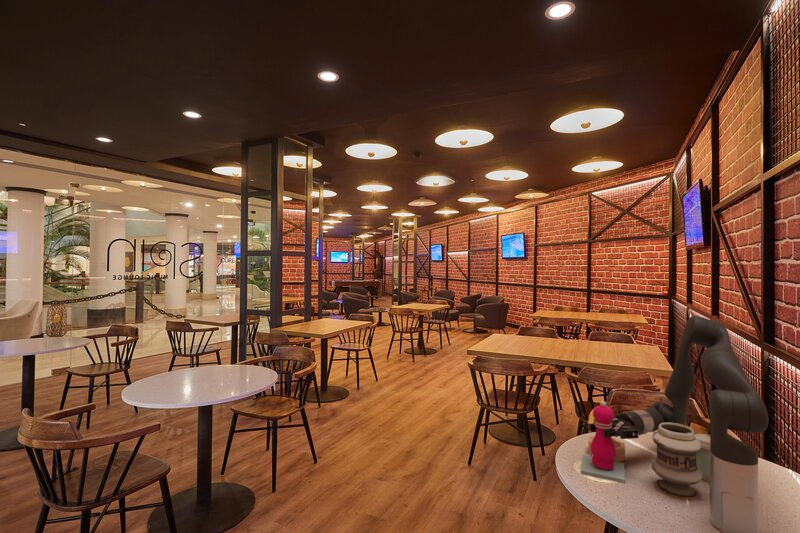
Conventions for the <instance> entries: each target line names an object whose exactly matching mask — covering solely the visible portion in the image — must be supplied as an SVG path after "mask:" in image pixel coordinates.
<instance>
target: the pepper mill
mask: <svg viewBox="0 0 800 533" xmlns="http://www.w3.org/2000/svg"><path fill="white" fill-rule="evenodd" d="M614 414H615V413H614V411H613V410H612V409H611V407H609V406H607V403H606V401H604V400H602V401H600V403H599V405H597V406H595V407H594V408H593V409H592V417H593V419H596V420H595V421H594V420H593V423H594V422H595V424H594V425H595V426H596V431H595V434H594V436H595V437H594V439H593V441H592V443H591V452H592V454H593V455H594V456H591V457H592V463H593V464H594V465H595V466H597V467H599V468H603V469H612V468H614V460H613V458H614V457H615V456H616V449H615V446H614V444H613V441H612V438H613V437H608V438H605V437H603V431H604V430H606V429H611V428H612V423H611V421H612V420H613V419H614V418H615V415H614Z"/></svg>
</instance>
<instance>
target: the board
mask: <svg viewBox="0 0 800 533" xmlns="http://www.w3.org/2000/svg"><path fill="white" fill-rule="evenodd" d="M592 457H593V456H592V455H590V456H589V455H586V454H585V455H584V454H582V461H581V467H580V474H581V475H585V476H590V477H594V478H598V479H603V480H608V481H613V482H617V483H620V484H621V483H622V484H626V474H625V464H624V462H622V461H619V462H616V461H614V468H612V469H603V468H599V467H597V466H595V465H594V464H593V463H592Z"/></svg>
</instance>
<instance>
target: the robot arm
mask: <svg viewBox="0 0 800 533" xmlns="http://www.w3.org/2000/svg"><path fill="white" fill-rule="evenodd" d="M681 333H682V334H681V337H680V340H679V345H678V347H677V351H676V356H675V362H674V365H673V369H672V371H671V372H672V373H671V375H670V376H669V380H668V382H667V385H666V387H665V390H664V392H663V393H664V396H665V398H667V399H668V400H669V401H670V402H671V403H672V406H671V405H669V404H668V403H666V402H663V401H654V403H653V404H651V405H650V406H649V407H647V408H645V409H634V410H629V411H624V412H620V413H618V414H617V415H616V416H615V417H614V419H613V420H612V421H611V423H612V428H611V429H606V430H604V431H603V437H605V438H608V437H611V438H619V439H622V440H632V439H633V440H634V439H639V436H642V435H645V434H649V433H651V432H655V431H656V430H658V428H659V425H660V424H661V423H677V424H682V425H685V426H686V424H687V419H688V408H689V407H688V406H689V400H690V397H691V395H692V393H693V391H694V389H695V385H696V375H695V370H694V366H693V363H692V359H691V349H692V346H693V345H697V346H699V347H700V346H701V347H703V348H706V349H705V350H703V352H702V353H701V355H700V360H699V362H700V367H701V369H702V372H703V375H704V377H705V378H706V380H707V381H709V383H711V384H712V385H713V386H714V387H716V388H717V389H714V390H712V391H711V392H710V395H709V399H708V410H709V426H710V427H709V428H710V430H709V432H710V433H709V435H710V482H709V522H710V523H711V524H712V525H713V526H714V527H716V528H717V529H718V530H720V531H721V533H758V526H759V525H758V523H759V522H758V515H759V514H758V511H759V510H758V508H759V506H758V505H759V502H758V500H759V499H758V498H759V496H758V495H759V454H758V450H757V449H756V448H755V447H753V446H752V445H750V444H748V443H746V442H744V441H742V440H739V439H738V438H735V437H733V436H732V435H731V434H730V433H728V430H731V431H739V432H743V433H744V432H745V433H753V434H757V433H763V432H765V431H766V430H767V428H768V425H769V414H768V410H767V408H766V404H765V403H764V400H763V399H762V398H761V396H760V395H759V393H758V391H757V390H756V389H755V388H754V386H753V385H752V384H751V382H750V380H749V379H748V377H747V375H746V373H745V370H744V367H743V366H742V363H741V361H740V359H739V358H738V356H737V354H736V352H735V350H734V347H733V346H732V342H731V338H730V336H729V331H728V329H727V326H725V325H724V324H723V323H721V322H718V321H716V320H712V319H709V318H706V317H705V318H704V317H702V316H699V315H691V316H690V317H689V318H688V319H687V321H686V323H685V325H684V326H683V330H682V332H681ZM595 420H596V419H595V418H593V423H589V425H588V431H590V432H596V426H595V425H594V424H595V422H594V421H595Z"/></svg>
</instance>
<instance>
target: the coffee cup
mask: <svg viewBox="0 0 800 533" xmlns="http://www.w3.org/2000/svg"><path fill="white" fill-rule="evenodd" d="M694 435H695V437H696V438H697V439H698V440H699V441H700V443H701V450H700V451H699V452H697V453H696V464H697V467H698V468H699V469H700V471H701V473H702V479H701V480H703V481H706V482H709V483H710V434H707V433H696V434H695V433H694Z"/></svg>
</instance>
